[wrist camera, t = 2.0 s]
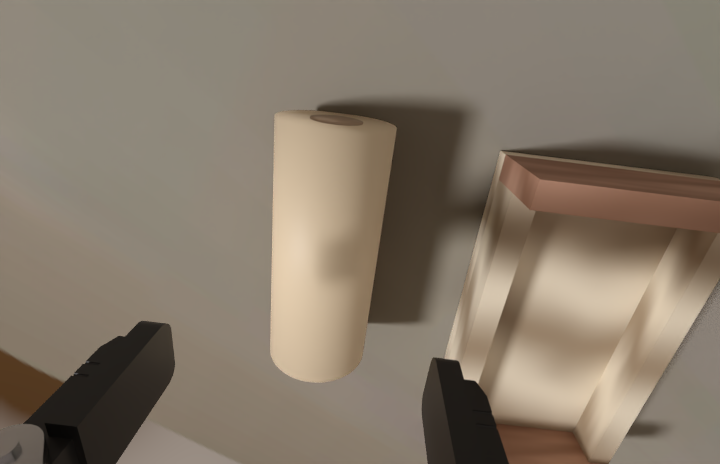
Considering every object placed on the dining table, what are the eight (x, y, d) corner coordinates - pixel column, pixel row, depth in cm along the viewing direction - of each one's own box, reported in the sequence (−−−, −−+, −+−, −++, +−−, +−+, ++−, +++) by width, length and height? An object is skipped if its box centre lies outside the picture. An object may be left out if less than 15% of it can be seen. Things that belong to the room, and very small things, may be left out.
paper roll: (287, 105, 18) (260, 121, 13) (392, 117, 18) (402, 138, 13) (280, 314, 23) (259, 378, 18) (363, 322, 23) (362, 387, 18)
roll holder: (500, 150, 18) (539, 179, 14) (714, 177, 18) (821, 213, 14) (427, 418, 26) (438, 491, 21) (578, 435, 26) (619, 512, 21)
